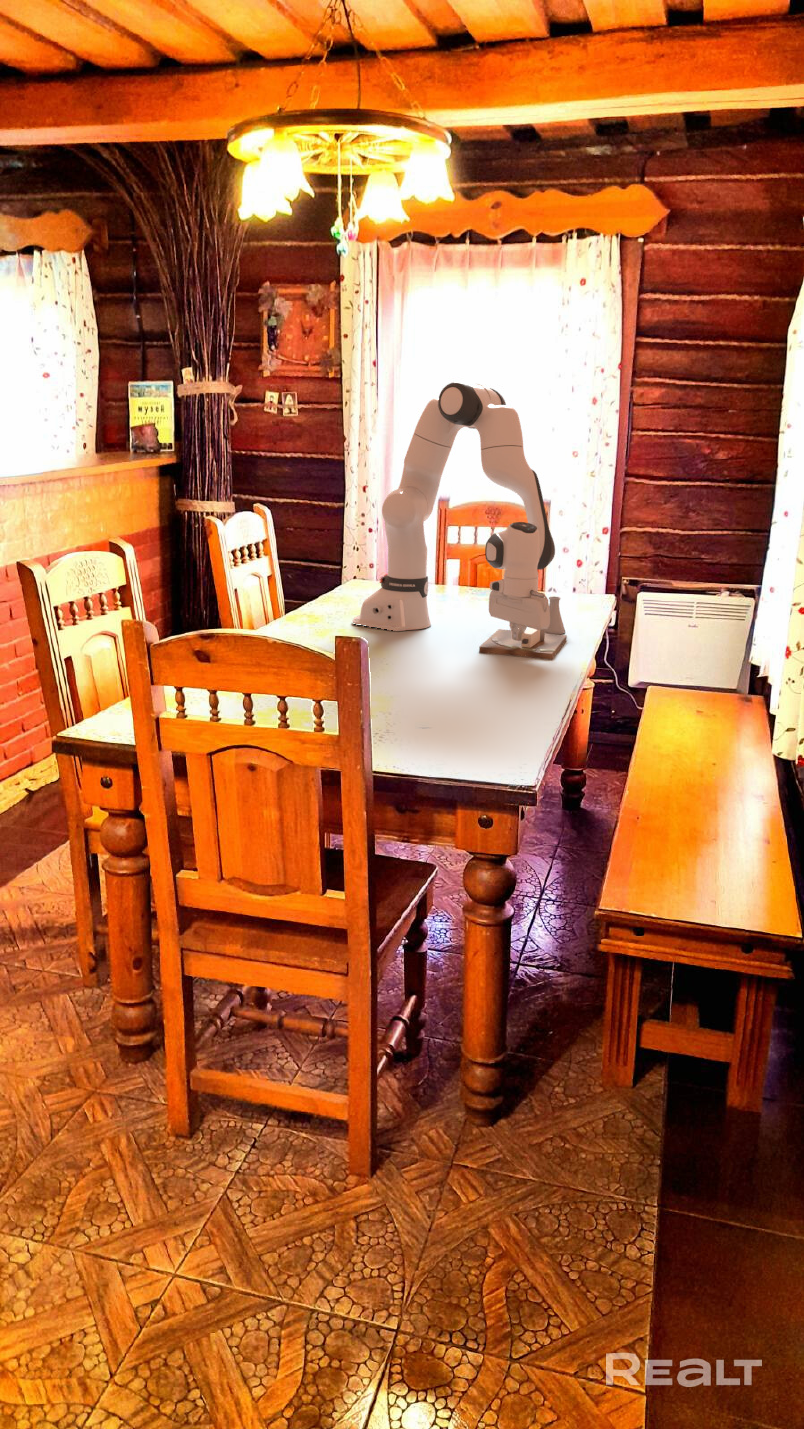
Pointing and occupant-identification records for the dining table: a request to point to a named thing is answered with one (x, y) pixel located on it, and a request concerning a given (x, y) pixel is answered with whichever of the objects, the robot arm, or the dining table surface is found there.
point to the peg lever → (532, 637)
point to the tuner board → (508, 646)
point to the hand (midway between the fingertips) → (517, 640)
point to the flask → (555, 617)
